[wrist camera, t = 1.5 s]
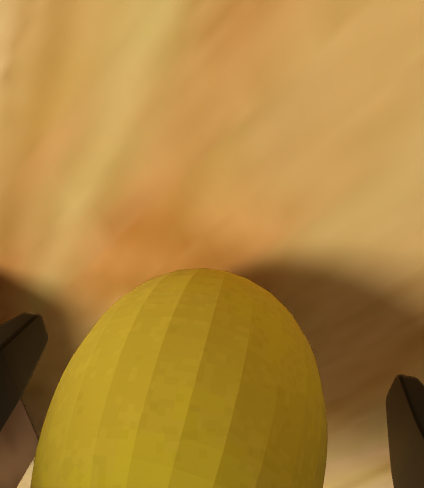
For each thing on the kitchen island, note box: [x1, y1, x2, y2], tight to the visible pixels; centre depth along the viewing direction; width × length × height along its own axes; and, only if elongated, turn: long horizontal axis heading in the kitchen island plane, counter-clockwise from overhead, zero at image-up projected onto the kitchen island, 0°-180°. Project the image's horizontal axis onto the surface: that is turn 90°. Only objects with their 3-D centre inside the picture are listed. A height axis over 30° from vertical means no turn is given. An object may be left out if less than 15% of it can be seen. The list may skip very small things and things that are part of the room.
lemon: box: [31, 268, 327, 488], centre depth 8 cm, size 6×6×8 cm
